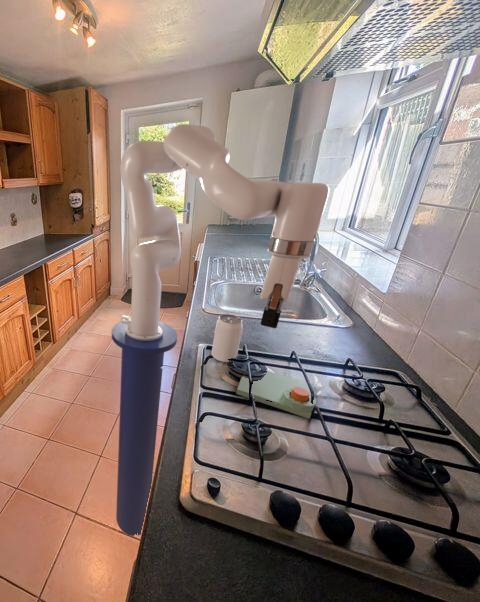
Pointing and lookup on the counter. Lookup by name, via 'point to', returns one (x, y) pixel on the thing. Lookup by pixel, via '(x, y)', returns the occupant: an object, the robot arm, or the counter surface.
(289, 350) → the counter surface
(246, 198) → the robot arm
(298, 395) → the tare button
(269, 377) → the scale
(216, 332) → the can
